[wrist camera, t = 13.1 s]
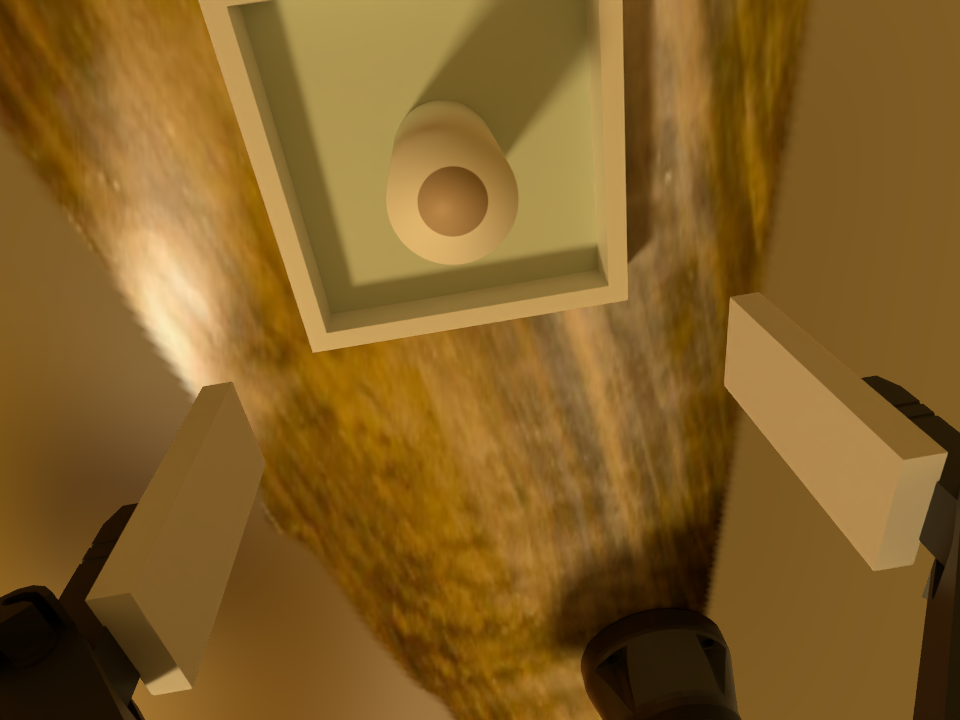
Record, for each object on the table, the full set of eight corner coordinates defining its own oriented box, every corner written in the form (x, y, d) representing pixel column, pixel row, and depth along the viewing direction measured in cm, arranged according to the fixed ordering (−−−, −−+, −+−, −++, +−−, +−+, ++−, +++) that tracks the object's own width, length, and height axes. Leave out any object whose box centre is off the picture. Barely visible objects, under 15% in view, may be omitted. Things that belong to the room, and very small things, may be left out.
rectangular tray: (612, 278, 43) (627, 300, 40) (320, 327, 42) (313, 352, 39) (601, -81, 32) (620, -89, 29) (213, -18, 32) (192, -19, 29)
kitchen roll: (500, 195, 38) (525, 253, 30) (404, 211, 38) (401, 274, 30) (486, 91, 35) (510, 122, 26) (382, 109, 35) (372, 146, 26)
